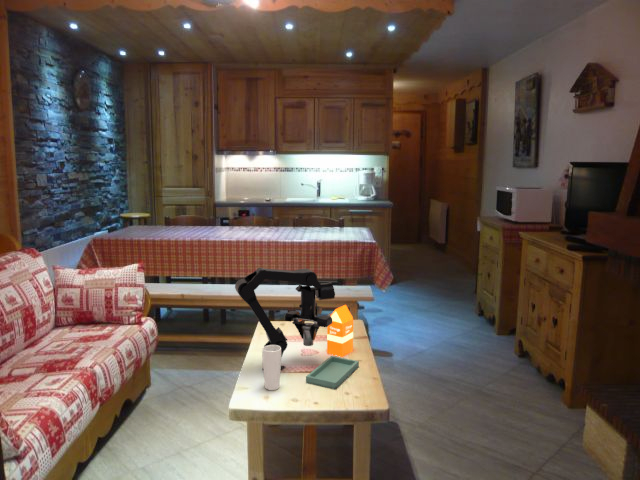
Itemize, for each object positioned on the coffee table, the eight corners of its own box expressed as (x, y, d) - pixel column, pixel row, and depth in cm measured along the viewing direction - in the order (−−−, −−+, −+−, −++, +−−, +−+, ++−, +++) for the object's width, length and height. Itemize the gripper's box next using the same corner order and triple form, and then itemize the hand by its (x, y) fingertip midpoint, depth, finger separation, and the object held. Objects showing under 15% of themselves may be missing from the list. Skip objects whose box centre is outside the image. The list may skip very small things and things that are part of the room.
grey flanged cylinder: (311, 347, 200) (311, 327, 199) (299, 345, 203) (299, 325, 201) (317, 343, 205) (317, 323, 204) (305, 341, 207) (305, 322, 206)
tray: (335, 389, 184) (335, 382, 183) (305, 382, 189) (305, 376, 188) (358, 367, 203) (358, 361, 203) (331, 361, 208) (331, 355, 208)
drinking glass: (260, 385, 187) (260, 345, 184) (278, 382, 189) (278, 343, 187) (265, 393, 180) (264, 352, 178) (283, 390, 183) (283, 350, 180)
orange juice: (353, 350, 220) (353, 305, 217) (342, 357, 213) (342, 311, 209) (337, 346, 224) (338, 302, 221) (326, 353, 217) (327, 307, 214)
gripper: (338, 299, 204) (338, 336, 206) (297, 293, 212) (297, 329, 215) (326, 306, 194) (326, 345, 197) (283, 300, 202) (283, 338, 205)
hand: (308, 339), depth 203 cm, fingers closed on grey flanged cylinder, 4 cm apart
